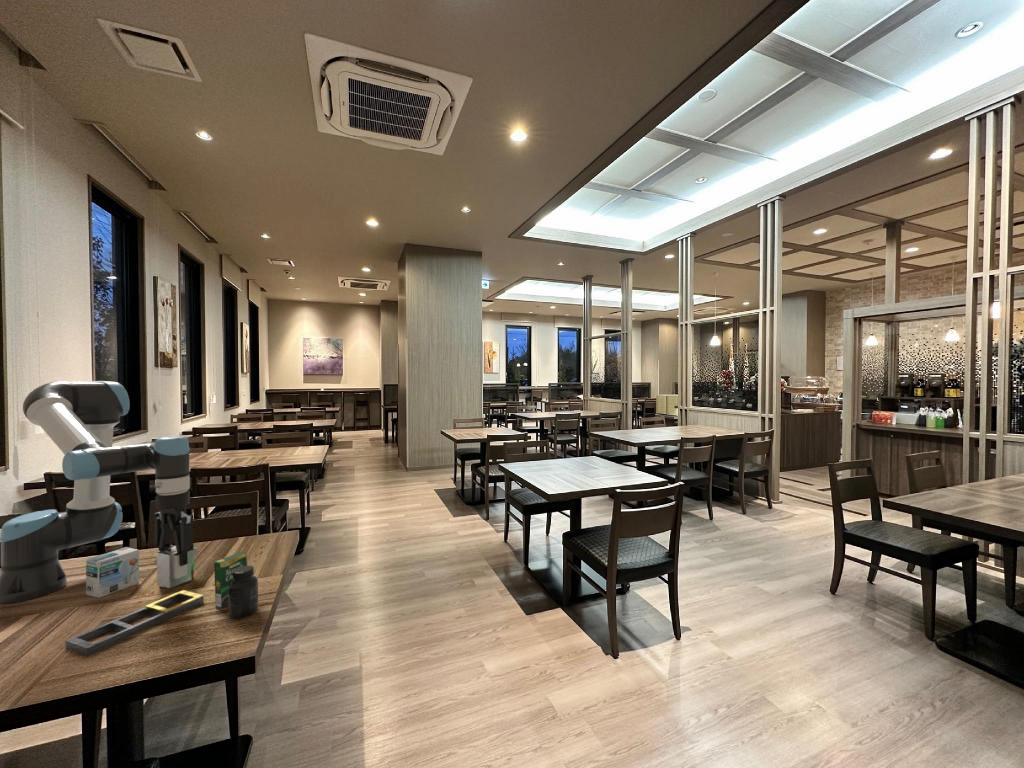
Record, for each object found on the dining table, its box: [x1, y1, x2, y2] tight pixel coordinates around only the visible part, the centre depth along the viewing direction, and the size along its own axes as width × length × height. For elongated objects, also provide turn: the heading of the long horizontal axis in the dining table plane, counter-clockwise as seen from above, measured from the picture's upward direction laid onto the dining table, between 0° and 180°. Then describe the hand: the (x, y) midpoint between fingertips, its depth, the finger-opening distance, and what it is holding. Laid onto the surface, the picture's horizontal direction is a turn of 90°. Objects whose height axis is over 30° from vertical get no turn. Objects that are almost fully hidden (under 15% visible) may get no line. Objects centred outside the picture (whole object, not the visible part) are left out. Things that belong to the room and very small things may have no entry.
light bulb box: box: [85, 546, 140, 599], centre depth 132 cm, size 11×7×11 cm, turn 161°
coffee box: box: [213, 551, 248, 610], centre depth 123 cm, size 8×3×13 cm, turn 157°
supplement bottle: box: [228, 565, 259, 620], centre depth 117 cm, size 7×7×12 cm
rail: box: [64, 589, 205, 657], centre depth 113 cm, size 9×26×2 cm, turn 158°
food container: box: [153, 544, 199, 590], centre depth 136 cm, size 12×6×10 cm, turn 168°
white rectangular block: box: [156, 546, 191, 589], centre depth 120 cm, size 6×6×9 cm
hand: (174, 574), depth 120 cm, fingers closed on white rectangular block, 5 cm apart
